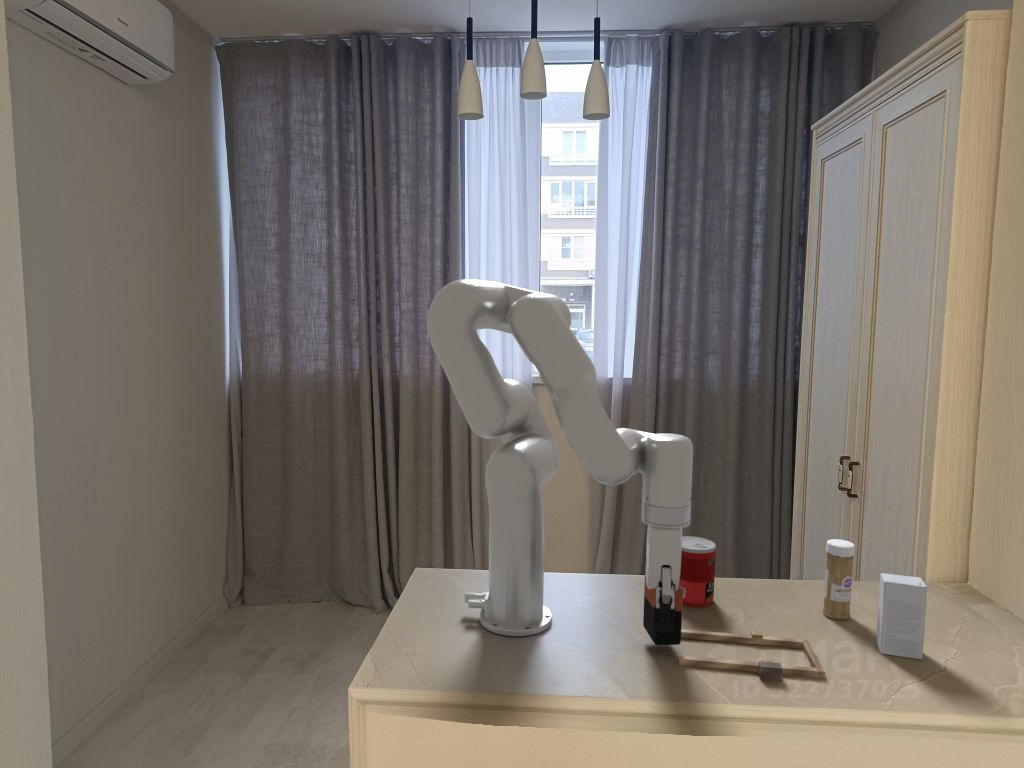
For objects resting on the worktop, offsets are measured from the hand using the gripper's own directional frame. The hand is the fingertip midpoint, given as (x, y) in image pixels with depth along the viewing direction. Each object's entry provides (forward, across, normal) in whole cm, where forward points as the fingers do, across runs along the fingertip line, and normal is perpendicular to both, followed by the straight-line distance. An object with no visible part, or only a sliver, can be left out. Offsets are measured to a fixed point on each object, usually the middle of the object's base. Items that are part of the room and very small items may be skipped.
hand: (662, 619), depth 110 cm
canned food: (+5, -20, +6) cm, 22 cm away
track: (+5, +1, +13) cm, 14 cm away
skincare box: (+5, -6, +37) cm, 38 cm away
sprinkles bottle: (+5, -18, +31) cm, 37 cm away
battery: (+3, 0, 0) cm, 3 cm away
